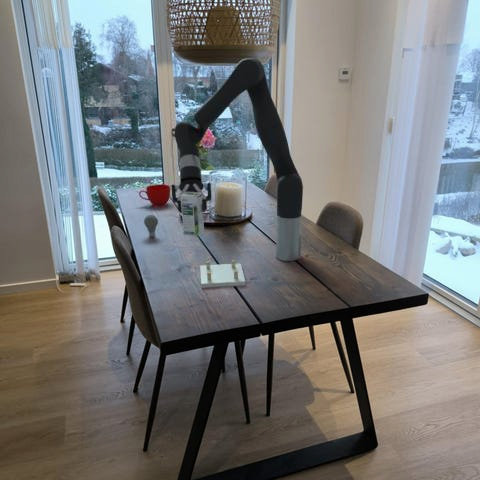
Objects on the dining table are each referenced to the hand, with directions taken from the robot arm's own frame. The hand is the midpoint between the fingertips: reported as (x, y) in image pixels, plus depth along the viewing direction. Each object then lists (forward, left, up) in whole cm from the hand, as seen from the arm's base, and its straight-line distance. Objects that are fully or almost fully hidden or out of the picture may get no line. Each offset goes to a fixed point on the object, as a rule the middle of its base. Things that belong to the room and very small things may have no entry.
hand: (192, 211), depth 149 cm
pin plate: (-9, +3, -24) cm, 26 cm away
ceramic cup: (+21, -92, -24) cm, 97 cm away
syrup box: (0, -1, -8) cm, 8 cm away
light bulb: (+19, -42, -24) cm, 51 cm away
